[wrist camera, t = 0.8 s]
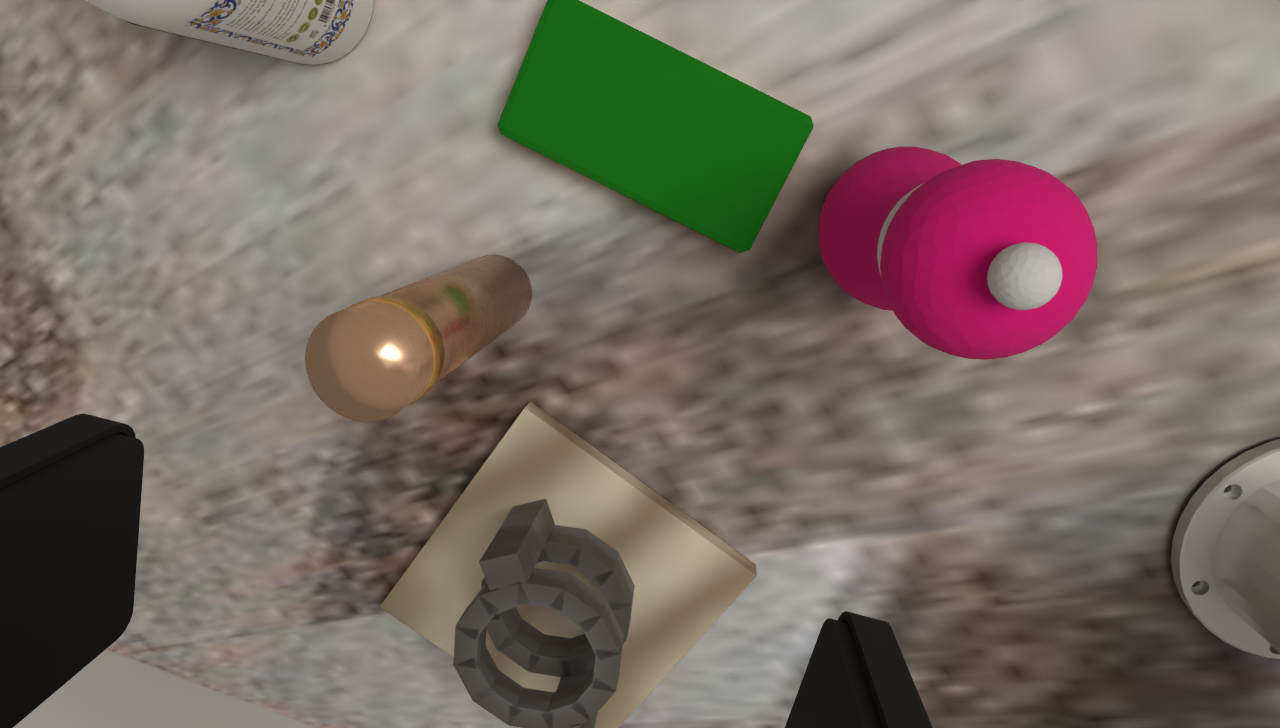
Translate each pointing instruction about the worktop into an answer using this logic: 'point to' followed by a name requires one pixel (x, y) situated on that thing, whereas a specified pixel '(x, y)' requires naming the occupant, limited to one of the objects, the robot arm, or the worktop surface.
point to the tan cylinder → (413, 336)
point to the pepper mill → (960, 248)
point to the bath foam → (256, 24)
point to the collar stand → (564, 582)
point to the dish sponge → (653, 123)
